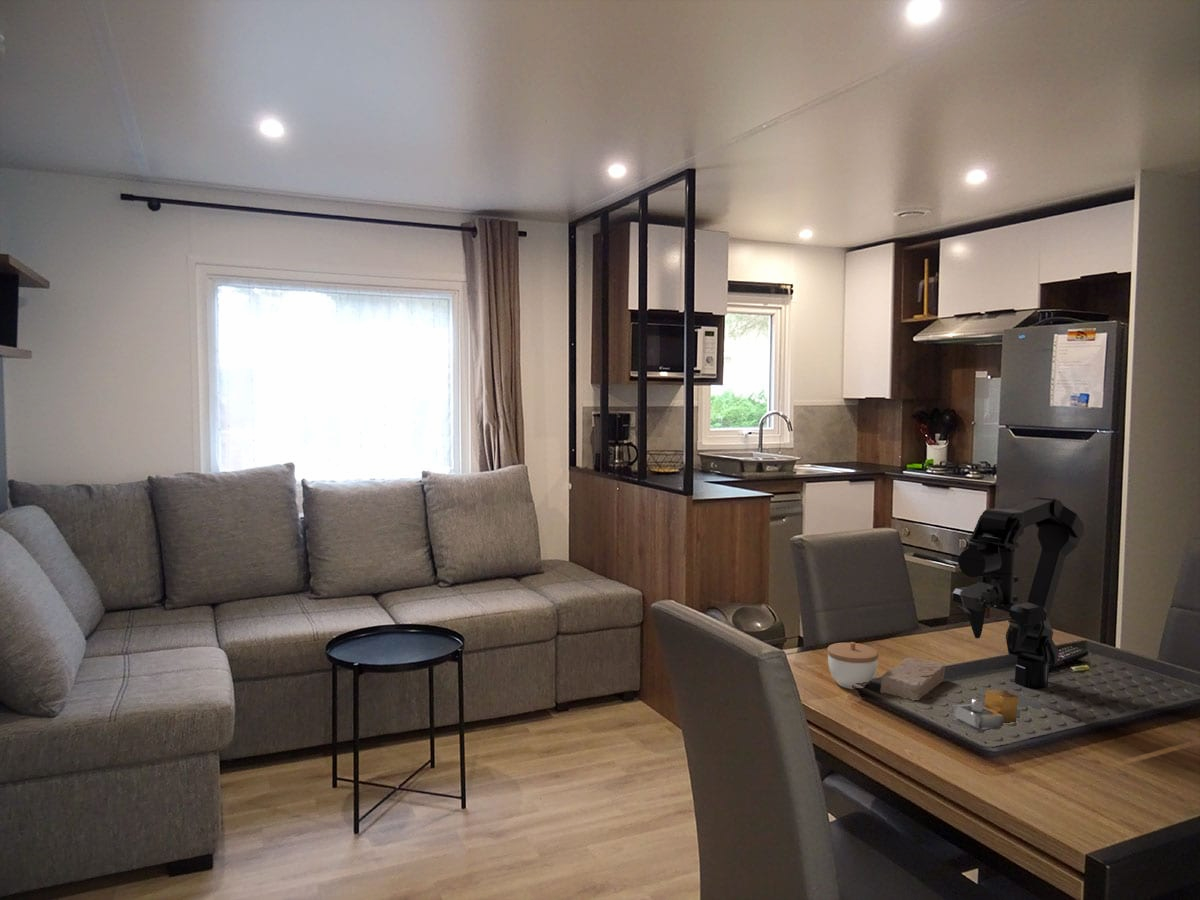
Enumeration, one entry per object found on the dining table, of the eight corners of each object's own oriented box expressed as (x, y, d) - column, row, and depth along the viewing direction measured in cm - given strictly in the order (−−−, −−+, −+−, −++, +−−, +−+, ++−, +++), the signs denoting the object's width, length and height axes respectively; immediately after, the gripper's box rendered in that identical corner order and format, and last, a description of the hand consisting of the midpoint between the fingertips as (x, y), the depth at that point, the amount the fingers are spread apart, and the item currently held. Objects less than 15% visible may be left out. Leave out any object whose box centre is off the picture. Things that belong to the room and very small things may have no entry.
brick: (917, 705, 165) (918, 683, 164) (878, 695, 170) (878, 674, 170) (945, 684, 177) (946, 663, 177) (907, 675, 183) (908, 655, 182)
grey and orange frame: (1002, 711, 160) (1005, 686, 160) (1030, 723, 154) (1033, 698, 154) (951, 715, 154) (954, 689, 154) (978, 728, 148) (981, 701, 148)
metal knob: (974, 717, 157) (975, 692, 156) (1000, 729, 151) (1001, 703, 151) (952, 722, 154) (952, 696, 154) (977, 735, 149) (978, 708, 148)
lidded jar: (819, 676, 181) (820, 635, 180) (865, 674, 182) (866, 634, 181) (837, 694, 170) (838, 651, 170) (885, 692, 171) (887, 650, 171)
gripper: (934, 564, 170) (931, 636, 171) (1009, 584, 153) (1006, 664, 154) (972, 560, 174) (970, 630, 176) (1050, 579, 157) (1046, 656, 159)
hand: (995, 644), depth 166 cm, fingers open, 9 cm apart
